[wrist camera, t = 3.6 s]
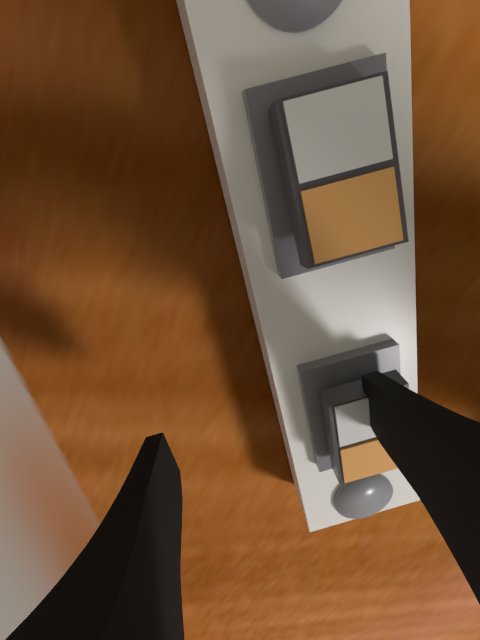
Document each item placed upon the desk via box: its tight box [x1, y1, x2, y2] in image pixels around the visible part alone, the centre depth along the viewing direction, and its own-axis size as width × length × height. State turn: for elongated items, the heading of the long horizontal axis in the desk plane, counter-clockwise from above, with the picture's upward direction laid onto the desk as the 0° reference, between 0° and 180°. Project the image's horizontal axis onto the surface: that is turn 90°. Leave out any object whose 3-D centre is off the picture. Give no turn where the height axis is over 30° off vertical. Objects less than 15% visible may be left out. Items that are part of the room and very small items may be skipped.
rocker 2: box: [320, 369, 409, 484], centre depth 14 cm, size 4×3×1 cm
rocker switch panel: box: [176, 0, 420, 532], centre depth 15 cm, size 24×6×4 cm, turn 13°
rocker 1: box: [268, 70, 409, 269], centre depth 10 cm, size 4×3×1 cm
